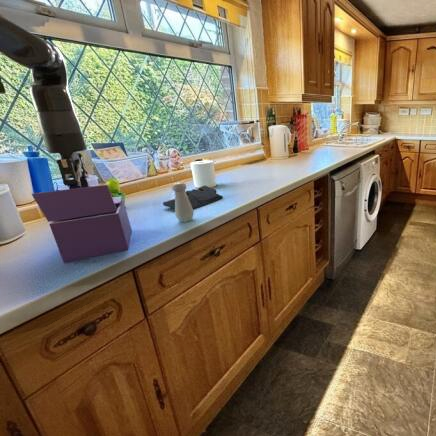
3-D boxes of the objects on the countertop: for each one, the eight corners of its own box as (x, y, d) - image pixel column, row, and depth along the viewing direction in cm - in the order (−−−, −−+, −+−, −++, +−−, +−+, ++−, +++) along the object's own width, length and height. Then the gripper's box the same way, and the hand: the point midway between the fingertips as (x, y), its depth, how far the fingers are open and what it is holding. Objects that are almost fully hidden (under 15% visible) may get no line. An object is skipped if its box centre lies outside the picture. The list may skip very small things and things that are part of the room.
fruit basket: (93, 208, 121) (84, 180, 117) (115, 202, 128) (108, 176, 125) (110, 211, 116) (101, 182, 112) (132, 205, 124) (125, 177, 120)
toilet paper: (190, 187, 150) (185, 163, 146) (208, 182, 158) (204, 159, 154) (203, 189, 145) (199, 164, 141) (221, 184, 153) (217, 160, 149)
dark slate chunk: (157, 208, 117) (154, 197, 116) (199, 194, 136) (197, 184, 134) (186, 212, 111) (183, 200, 110) (226, 197, 130) (225, 186, 129)
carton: (128, 249, 82) (117, 210, 78) (63, 263, 76) (47, 220, 72) (131, 230, 96) (122, 196, 92) (77, 240, 90) (64, 203, 86)
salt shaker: (189, 216, 107) (181, 180, 103) (198, 219, 104) (191, 182, 100) (173, 221, 103) (165, 184, 98) (182, 224, 99) (174, 185, 95)
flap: (117, 210, 78) (117, 211, 78) (48, 220, 72) (48, 222, 72) (107, 184, 73) (107, 185, 73) (31, 193, 67) (31, 194, 66)
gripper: (50, 131, 76) (70, 193, 82) (31, 133, 64) (56, 206, 70) (86, 129, 80) (103, 189, 85) (75, 131, 68) (96, 200, 73)
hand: (82, 196), depth 77 cm, fingers open, 8 cm apart
